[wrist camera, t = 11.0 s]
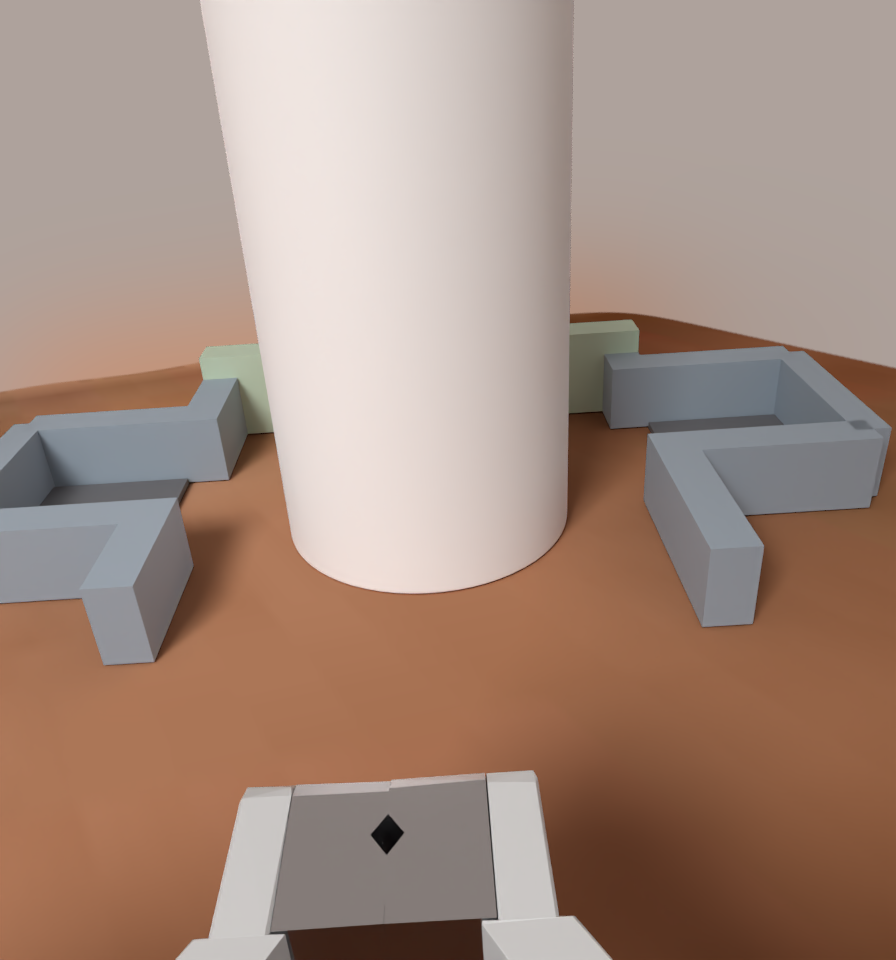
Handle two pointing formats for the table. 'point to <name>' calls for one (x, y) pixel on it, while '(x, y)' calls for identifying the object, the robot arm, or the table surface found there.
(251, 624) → the table surface
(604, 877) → the table surface
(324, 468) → the cup
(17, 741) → the table surface
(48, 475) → the box
